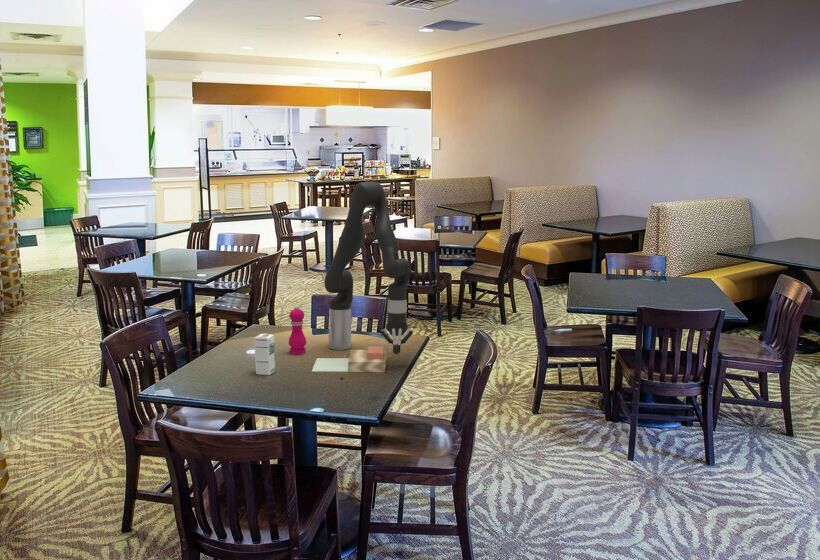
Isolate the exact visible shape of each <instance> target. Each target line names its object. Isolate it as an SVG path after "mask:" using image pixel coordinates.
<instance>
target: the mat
mask: <svg viewBox="0 0 820 560" xmlns="http://www.w3.org/2000/svg"><path fill="white" fill-rule="evenodd" d="M348 360H349V357H347V358H345V357H342V358H341V357H340V358H339V357H338V358H336V357H335V358H333V357H332V358H330V357H328V358H327V357H325V358H323V357H321V358H320V357H318V358H316V360H315V362H314V364H313V367H312V370H311V372H312V373H349V372H348Z"/></svg>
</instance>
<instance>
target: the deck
mask: <svg viewBox="0 0 820 560" xmlns="http://www.w3.org/2000/svg"><path fill="white" fill-rule="evenodd" d="M367 351H368V349H351V350H350V354H349V357H348V358H349V360H348V372H347V373H386V365H387V349H384V353H383V359H367Z"/></svg>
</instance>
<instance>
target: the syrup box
mask: <svg viewBox="0 0 820 560" xmlns="http://www.w3.org/2000/svg"><path fill="white" fill-rule="evenodd" d="M253 339H254V361H255V362H254V363H255V373H256V375H259V376H261V375H263V376H271V375H272V374H273V373H274V372H276V371H277V369H276V368H277V367H276V365H277V364H276V347H275V346H276V345H275V334H273V333H260V334H258V335H257V336H255V337H253Z"/></svg>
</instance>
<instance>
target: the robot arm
mask: <svg viewBox="0 0 820 560" xmlns="http://www.w3.org/2000/svg"><path fill="white" fill-rule="evenodd" d="M349 204H350V205H349V209H348V213H347V216H346V218H345V219H346V220H345V222H344V223H345V224H344V227H343V229H342V231H341V234H340V237H339V240H338V243H337V248H336V250H335V253H334V256H333V258H332V260H331V262H330V265H329V267H328V268H327V269H328V270H327V271H326V274H325V277H324V282H323V283H324V288H325V290H326V291H327V292H328V293H330V294H336V295H335V296H334V298H332V299H331V300H330V301H329V303H328V315H329V316H328V321H329V322H328V323H329V324H328V325H329V326H328V349H329V350H334V351H335V350H336V351H343V350H349V349H352V303H353V298H354V278H353V274H352V273H351V271H350V270H348V269H346V267H347V266H348V265H349V264H350V262H351V261H353V260H354V258H355V257H356V256H357V255H358V254H359V252H360V251H361V249H362V246H363V244H364V240H365V237H366V231H365V227H364V223H363V215H364V213H365V210H366V208H367V207H369V206H370V207H373V208H374V211H375V213H376V226H375V237H376V241H377V244H378V247H379V249H380V252H381V259H382V269H383V272H384V274H385V275H386V277H387V278H388V279H394V281H393V282H392V283H390V284H389V285H388V286H387V305H386V310H387V312H386V313H387V314H386V316H387V317H386V318H387V319H386V321H387V323H386V325H385V328H384V329H381V330H380V333H381V335H382V336H383V337H384V338H385V340H386V341H387V343H388V344H391V345H392V352H393V354H394V355H399V353H401V345H404V344H406V342H407V341H408V340H409V339H410V337H412V335H413V333H414V332H413V329H410V328H409V325H408V322H407V321H408V317H407V315H408V313H407V312H408V311H407V310H408V305H407V303H408V302H407V287H408V284H409V280H410V276H411V273H412V268H411V264H410V262H409V260H408V259H406V258H403V257H402V258H395V254H397V253H398V252H399V251H400V246H399V242H398V239H397V237H396V235H395V231H394V230H393V227H392V223H391V218H390V213H389V208H388V203H387V198H386V193H385V190H384V188H383V186H382V184H381V183H380V182H377V181H363V182H358V183H357V184H356V185H355V186H354V189H353V191H352V195H351V199H350V203H349ZM405 333H406V334H405ZM404 334H405V336H404V337H403V338H402V336H403V335H404ZM390 336H392V338H391V337H390Z"/></svg>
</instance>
